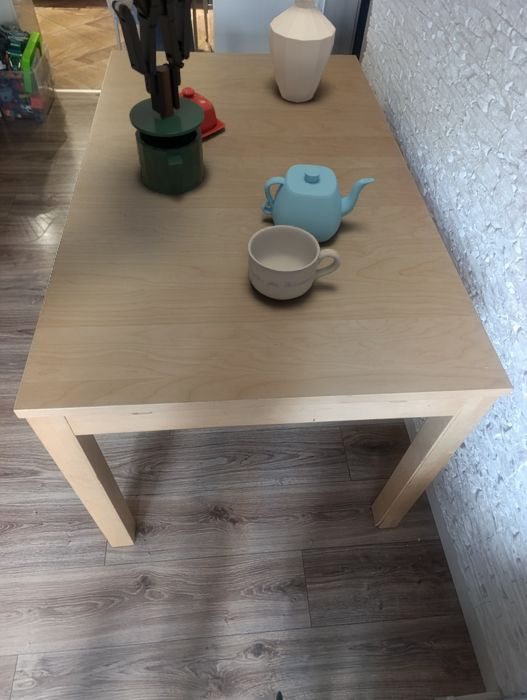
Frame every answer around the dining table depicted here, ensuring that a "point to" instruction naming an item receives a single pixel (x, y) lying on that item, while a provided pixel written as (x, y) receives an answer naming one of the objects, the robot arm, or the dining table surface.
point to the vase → (300, 49)
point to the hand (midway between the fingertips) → (166, 108)
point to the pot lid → (167, 113)
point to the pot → (171, 161)
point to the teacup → (286, 261)
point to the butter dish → (210, 120)
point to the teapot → (311, 200)
